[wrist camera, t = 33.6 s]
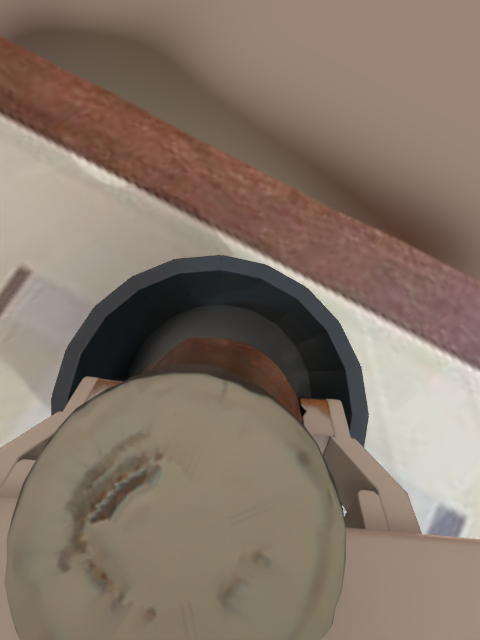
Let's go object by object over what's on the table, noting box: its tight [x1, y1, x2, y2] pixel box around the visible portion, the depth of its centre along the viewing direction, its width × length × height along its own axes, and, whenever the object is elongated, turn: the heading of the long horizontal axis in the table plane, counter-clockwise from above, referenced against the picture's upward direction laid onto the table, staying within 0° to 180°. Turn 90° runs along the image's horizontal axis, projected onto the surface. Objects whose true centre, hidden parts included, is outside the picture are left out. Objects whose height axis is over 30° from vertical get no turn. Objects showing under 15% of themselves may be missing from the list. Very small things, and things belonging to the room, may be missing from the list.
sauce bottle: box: [4, 337, 346, 640], centre depth 14 cm, size 6×6×20 cm
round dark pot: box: [51, 255, 369, 505], centre depth 20 cm, size 15×15×8 cm
